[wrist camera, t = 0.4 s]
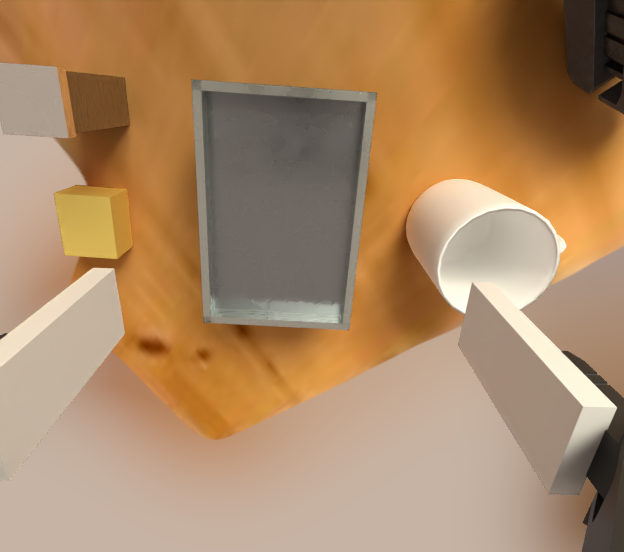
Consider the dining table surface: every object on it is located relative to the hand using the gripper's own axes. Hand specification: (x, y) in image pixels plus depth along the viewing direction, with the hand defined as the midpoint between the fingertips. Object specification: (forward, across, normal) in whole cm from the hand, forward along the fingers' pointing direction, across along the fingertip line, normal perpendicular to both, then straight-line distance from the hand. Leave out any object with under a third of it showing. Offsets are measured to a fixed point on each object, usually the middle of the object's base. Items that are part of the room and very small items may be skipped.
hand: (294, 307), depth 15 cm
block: (+27, -20, -5) cm, 34 cm away
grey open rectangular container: (+27, -2, -1) cm, 27 cm away
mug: (+27, +16, -3) cm, 32 cm away
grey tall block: (+27, -18, +6) cm, 33 cm away
